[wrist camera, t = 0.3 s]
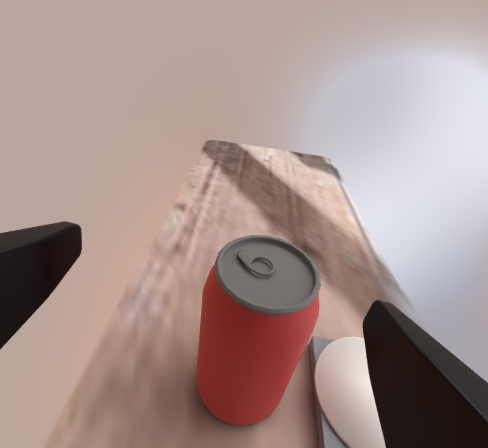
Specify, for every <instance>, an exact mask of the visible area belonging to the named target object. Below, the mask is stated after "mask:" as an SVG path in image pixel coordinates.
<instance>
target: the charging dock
mask: <svg viewBox="0 0 488 448" xmlns="http://www.w3.org/2000/svg"><path fill="white" fill-rule="evenodd" d="M309 350H310V360H311V371H312V382H313V392H314V403H315V414H316V424H317V435H318V446H319V448H386V446H385V442H384V438H383V433H382V429H381V425H380V421H379V417H378V412H377V408H376V404H375V400H374V396H373V391H372V387H371V383H370V378H369V372H368V366H367V358H366V350H365V342H364V338H360V337H345V338H340V339H337V340H331V339H325V338H319V337H314V336H313V337H312V339H311V341H310V343H309Z"/></svg>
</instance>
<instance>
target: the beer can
mask: <svg viewBox="0 0 488 448" xmlns="http://www.w3.org/2000/svg"><path fill="white" fill-rule="evenodd" d="M320 287H321V283H320V274H319V271H318V269H317V267H316V265H315V263H314V262H313V261H312V260H311V259H310V258H309V256H308V255H307V254H306V253H305V252H304V251H302V250H301V249H299V248H298V247H296V246H295V245H293V244H292V243H289V242H287V241H284V240H282V239H280V238H275V237H270V236H261V235H252V236H247V237H242V238H238V239H236V240H234V241H232V242H230V243H228V244H226V246H225V247H224V248H223V249H222V250H221V251H220V252H219V254H218V256H217V259H216V262H215V264H214V266H213V267H212V269H211V271H210V273H209V276H208V278H207V281H206V283H205V286H204V289H203V297H202V309H201V322H200V335H199V348H198V361H197V388H198V391H199V394H200V397H201V400H202V402H203V403H204V404H205V406H206V407H207V408H208V410H209V411H210V412H211V413H212V414H213V415H215V416H216V417H218V418H219V419H220V420H222V421H223V422H226V423H230V424H234V425H238V426H243V425H251V424H256V423H258V422H260V421H261V420H263V419H265V418H267V417H268V416H269V415H270V414H271V413H272V412H273V411H274V409H275V408H276V407H277V406H278V404H279V402H280V399H281V397H282V395H283V393H284V391H285V389H286V387H287V385H288V383H289V380H290V378H291V376H292V374H293V372H294V370H295V368H296V366H297V363H298V361H299V359H300V357H301V355H302V353H303V351H304V349H305V346H306V344H307V342H308V340H309V338H310V336H311V334H312V332H313V329H314V327H315V324H316V321H317V318H318V314H319V294H318V292H319V289H320Z"/></svg>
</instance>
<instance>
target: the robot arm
mask: <svg viewBox="0 0 488 448" xmlns="http://www.w3.org/2000/svg"><path fill="white" fill-rule="evenodd" d="M81 251H82V236H81V227H80V226H79V225H78V224H74V223H70V222H59V223H54V224H49V225H42V226H37V227H32V228H26V229H21V230H15V231H10V232H4V233H0V349H1V348H2V347H3V346H4V345H5V344H6V343H7V342H8V340H9V339H10V338H11V337H12V336H13V335H14V334H15V333H16V332H17V331H18V330H19V329H20V328H21V326H22V325H23V324H24V323H25V322H26V321H27V320H28V319H29V318H30V317H31V316H32V314H33V313H34V312H35V311H36V310H37V309H38V308H39V307H40V306H41V305H42V304H43V303H44V301H45V300H46V299H47V298H48V297H49V296H50V294H51V293H52V292H53V291H54V289H55V288H56V287H57V285H58V284H59V283H60V281H61V280H62V279H63V277H64V276H65V274H66V273H67V272H68V271H69V269H70V268H71V267H72V265H73V264H74V263H75V261H76V260H77V258H78V257H79V256H80V254H81ZM363 334H364V342H365V350H366V358H367V366H368V372H369V378H370V383H371V387H372V391H373V396H374V400H375V404H376V408H377V412H378V417H379V421H380V425H381V429H382V433H383V438H384V442H385V446H386V448H488V383H487V382H486V381H485V380H484V379H482V378H481V377H480V376H479V375H478V374H476V373H475V372H474V371H473V370H471V369H470V368H469V367H468V366H467V365H465V364H464V363H463V362H461V360H459V359H458V358H457V357H456V356H454V355H453V354H452V353H451V352H450V351H448V350H447V349H446V348H445V347H444V346H442V345H441V344H440V343H439V342H437V341H436V340H435V339H434V338H433V337H431V336H430V335H429V334H428V333H427V332H425V331H424V330H423V329H422V328H421V327H419V326H418V325H417V324H416V323H414V322H413V321H412V320H411V319H410V318H408V317H407V316H406V315H405V314H404V313H402V312H401V311H400V310H399V309H397V308H396V307H395V306H394V305H393V304H391V303H389V302H385V301H381V300H376V301H374V302H373V304H372V306H371V308H370V309H369V311H368V313H367V315H366V316H365V318H364V321H363Z"/></svg>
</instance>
